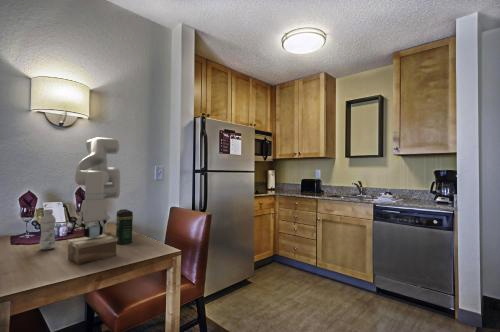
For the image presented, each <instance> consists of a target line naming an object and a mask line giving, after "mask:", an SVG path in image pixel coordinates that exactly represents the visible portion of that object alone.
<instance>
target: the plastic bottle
mask: <svg viewBox="0 0 500 332" xmlns="http://www.w3.org/2000/svg"><path fill="white" fill-rule="evenodd" d="M56 219H57V218H56V217H55V216H54V210H53V209H51V208H50V209H43V215H42V217H41V218H40V219H39V222H40V223H39V224H40V241H39V244H38V245H39V249H40V250H45V251H46V250H51V249H54V247H56V239H55V228H56Z"/></svg>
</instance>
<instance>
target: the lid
mask: <svg viewBox="0 0 500 332" xmlns="http://www.w3.org/2000/svg"><path fill="white" fill-rule="evenodd" d="M114 241H118V237H116V232H111V231H108V230H106V231H104V234H102V235H100V236H99V237H95V238H87V237H85V236H82V237H76V238H72V239H67V240H66V244H67V245H68V244H69V245H71V246H74V247H76V248H78V249H81V248H86V247H90V246H95V245H100V244H105V243H110V242H114Z"/></svg>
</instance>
